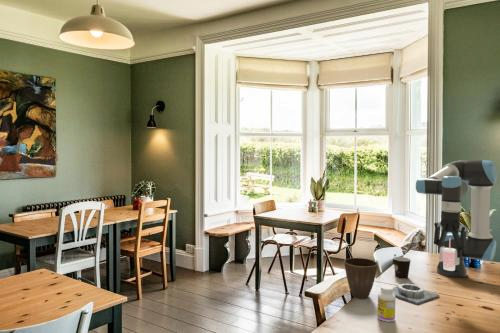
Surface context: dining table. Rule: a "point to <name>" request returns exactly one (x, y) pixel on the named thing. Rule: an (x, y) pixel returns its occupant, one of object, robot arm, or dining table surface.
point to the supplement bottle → (386, 304)
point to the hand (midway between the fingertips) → (449, 262)
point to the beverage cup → (449, 258)
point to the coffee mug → (401, 267)
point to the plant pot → (360, 276)
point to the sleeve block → (413, 293)
